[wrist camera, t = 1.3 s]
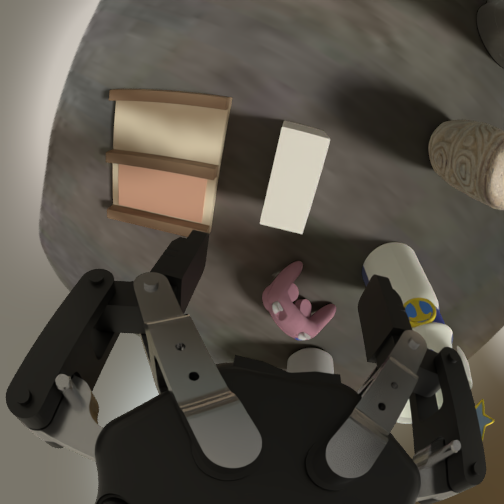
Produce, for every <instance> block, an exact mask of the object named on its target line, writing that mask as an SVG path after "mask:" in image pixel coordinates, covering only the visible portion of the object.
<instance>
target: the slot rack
mask: <svg viewBox="0 0 504 504" xmlns="http://www.w3.org/2000/svg"><path fill="white" fill-rule="evenodd" d="M109 100H114V101H116V108H115V121H114V138H113V149H112V150H110V151H108V152H106V162H108V163H113V205H112V206H110V207H109V208H108V209H107V218H110V219H115V220H119V221H123V222H127V223H131V224H136V225H140V226H144V227H148V228H152V229H157V230H161V231H165V232H169V233H173V234H178V235H182V236H186V237H188V236H189V235H190V233H191V232H192V230H198V231H202V232H206V233H210V232H211V227H212V220H213V213H214V205H215V199H216V192H217V185H218V179H219V172H220V166H221V160H222V154H223V148H224V142H225V136H226V130H227V125H228V119H229V114H230V108H231V103H232V98H231V97H225V96H218V95H210V94H202V93H193V92H182V91H170V90H153V89H114V90H110V93H109Z"/></svg>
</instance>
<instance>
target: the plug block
mask: <svg viewBox="0 0 504 504" xmlns="http://www.w3.org/2000/svg"><path fill="white" fill-rule="evenodd" d="M329 143H330V138H329V137H328V136H327V134H326V133H325V132H324V131H323V130H320V129H316V128H313V127H309V126H305V125H301V124H297V123H293V122H289V121H285V120H284V122H283V125H282V128H281V133H280V137H279V142H278V146H277V150H276V155H275V159H274V163H273V168H272V172H271V176H270V181H269V185H268V189H267V194H266V198H265V202H264V207H263V211H262V215H261V220H260V224H262V225H266V226H270V227H274V228H278V229H283V230H287V231H291V232H295V233H299V234H303V231H304V227H305V224H306V221H307V218H308V215H309V211H310V208H311V205H312V202H313V198H314V195H315V192H316V188H317V185H318V182H319V178H320V175H321V171H322V168H323V164H324V161H325V157H326V154H327V150H328V147H329Z"/></svg>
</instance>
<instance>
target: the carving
mask: <svg viewBox="0 0 504 504" xmlns="http://www.w3.org/2000/svg"><path fill="white" fill-rule="evenodd" d="M428 151H429V158H430V162H431V165H432V167H433V169H434V171H435V172H436V173H437V174H438V175H439V176H440V177H442V179H443V180H445V181H446V182H447V183H449V184H450V185H451V186H452V187H454V188H456V189H458V190H460V191H462V192H463V193H466V194H467V195H468V196H470V197H471V198H473V199H475V200H478V201H480V202H482V203H484V204H486V205H489V206H490V207H492V208H494V209H499V210H504V131H502V130H501V129H499V128H496V127H494V126H491V125H489V124H487V123H483V122H476V121H471V120H452V121H446V122H443V123H442V124H440V125H439V126H438V127H437V128H436V129H435V131H434V132H433V134H432V135H431V138H430V141H429V147H428Z"/></svg>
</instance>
